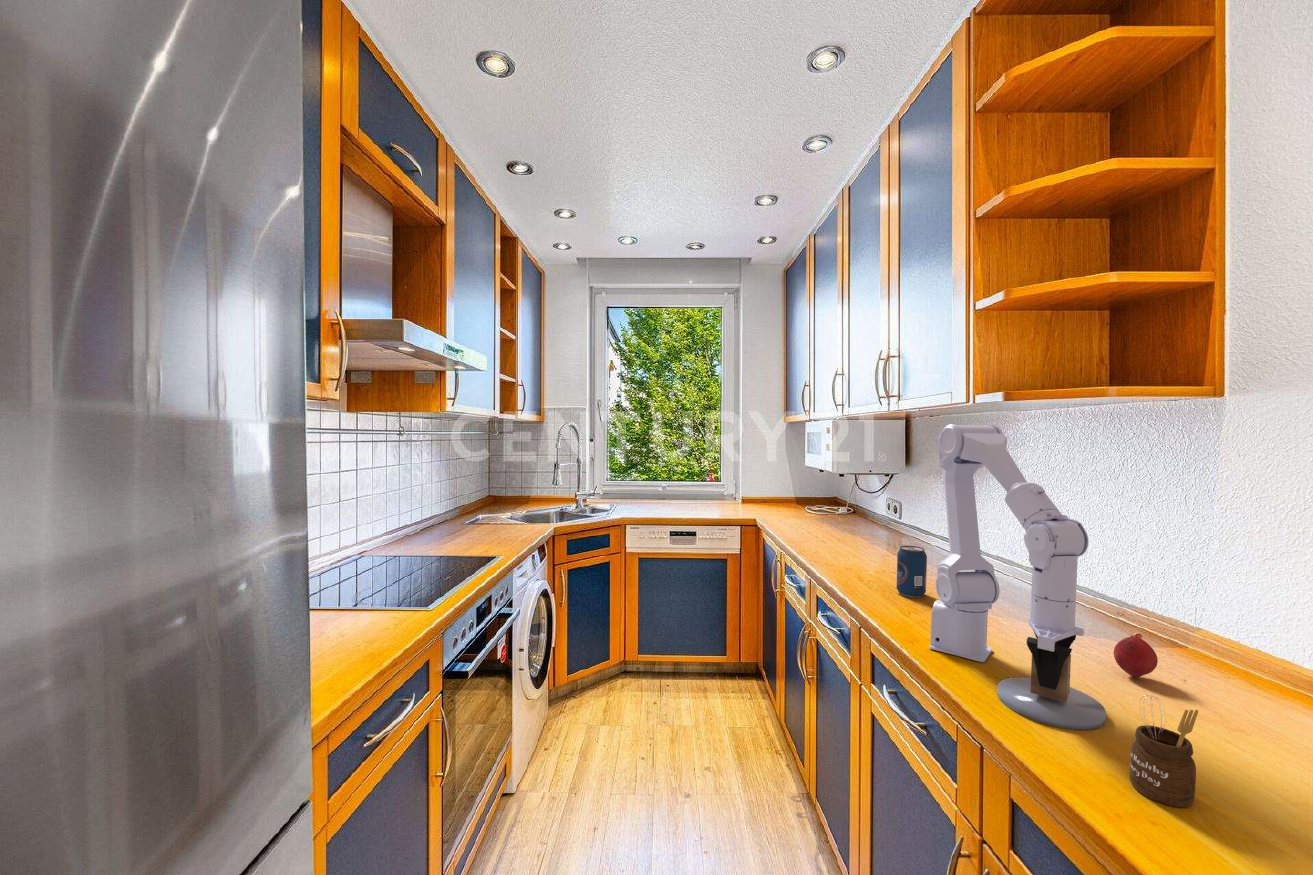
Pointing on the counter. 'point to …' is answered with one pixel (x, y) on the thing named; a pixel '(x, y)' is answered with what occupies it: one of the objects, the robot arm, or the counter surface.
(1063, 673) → the walnut stool block
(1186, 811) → the counter surface
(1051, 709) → the plate
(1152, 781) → the utensil holder
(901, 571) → the soda can
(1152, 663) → the onion
